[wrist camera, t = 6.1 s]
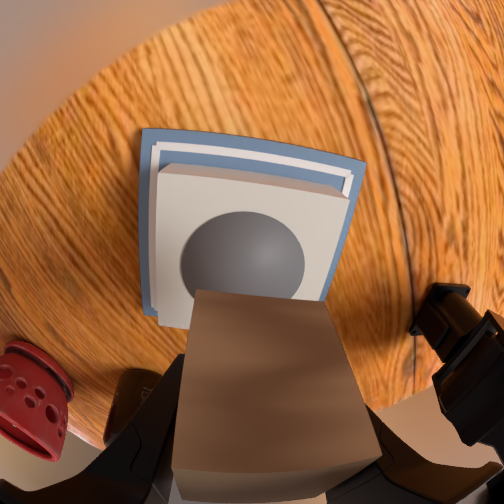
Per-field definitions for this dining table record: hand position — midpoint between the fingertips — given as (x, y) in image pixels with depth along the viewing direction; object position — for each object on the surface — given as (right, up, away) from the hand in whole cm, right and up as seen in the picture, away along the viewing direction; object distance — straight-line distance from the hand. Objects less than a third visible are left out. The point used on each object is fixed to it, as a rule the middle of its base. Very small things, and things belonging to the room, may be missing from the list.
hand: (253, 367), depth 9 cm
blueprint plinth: (-1, +5, +10) cm, 11 cm away
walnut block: (0, +1, +1) cm, 1 cm away
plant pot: (-28, -11, +17) cm, 34 cm away
